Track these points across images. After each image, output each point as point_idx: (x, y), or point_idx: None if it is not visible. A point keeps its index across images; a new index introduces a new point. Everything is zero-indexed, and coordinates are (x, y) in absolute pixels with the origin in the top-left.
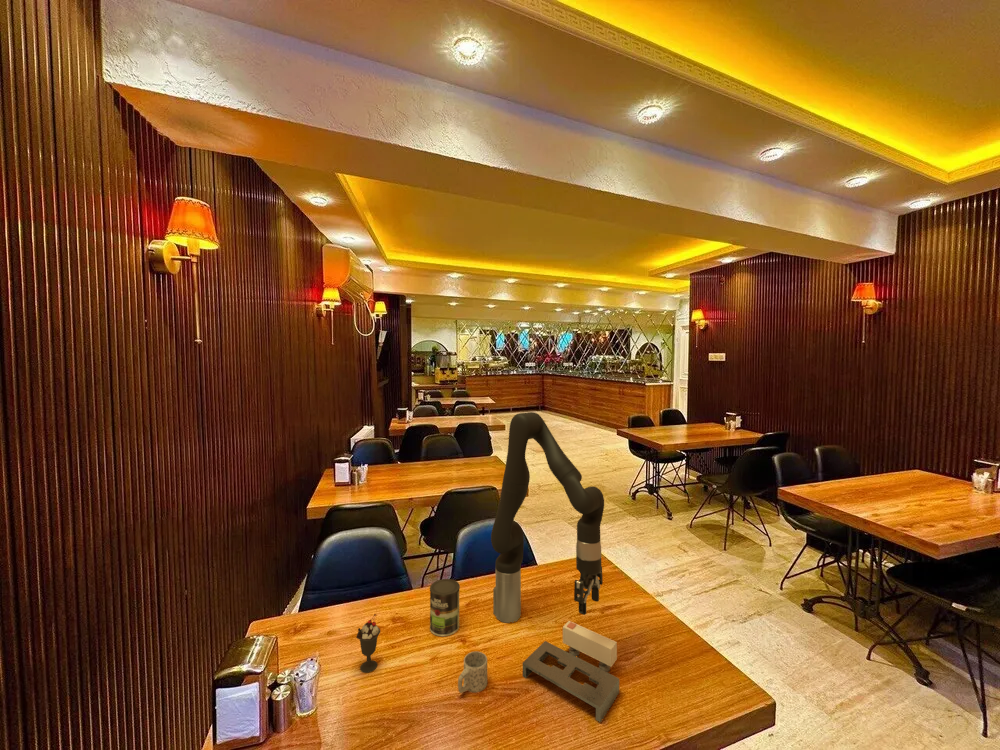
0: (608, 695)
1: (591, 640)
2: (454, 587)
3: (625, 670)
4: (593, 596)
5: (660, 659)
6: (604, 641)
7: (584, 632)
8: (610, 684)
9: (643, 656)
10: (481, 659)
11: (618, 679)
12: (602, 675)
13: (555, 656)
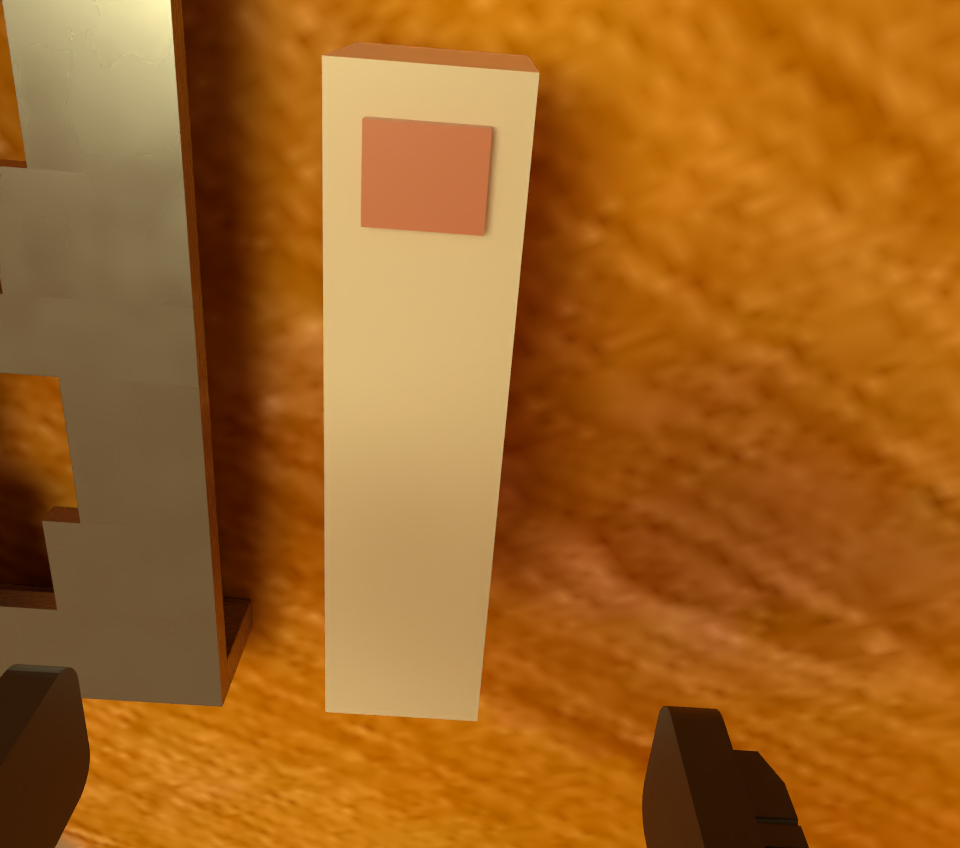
0: None
1: (325, 509)
2: None
3: (507, 601)
4: (674, 805)
5: (774, 754)
6: (402, 628)
7: (411, 389)
8: (112, 674)
9: (747, 663)
10: None
11: (209, 704)
12: (152, 602)
13: (23, 109)
